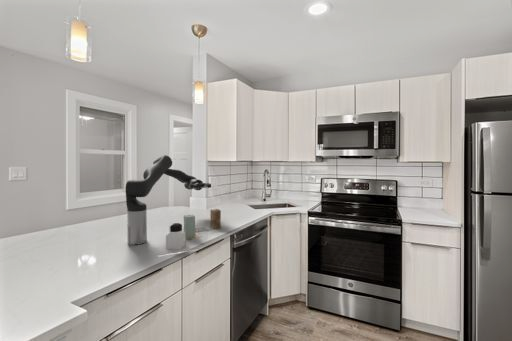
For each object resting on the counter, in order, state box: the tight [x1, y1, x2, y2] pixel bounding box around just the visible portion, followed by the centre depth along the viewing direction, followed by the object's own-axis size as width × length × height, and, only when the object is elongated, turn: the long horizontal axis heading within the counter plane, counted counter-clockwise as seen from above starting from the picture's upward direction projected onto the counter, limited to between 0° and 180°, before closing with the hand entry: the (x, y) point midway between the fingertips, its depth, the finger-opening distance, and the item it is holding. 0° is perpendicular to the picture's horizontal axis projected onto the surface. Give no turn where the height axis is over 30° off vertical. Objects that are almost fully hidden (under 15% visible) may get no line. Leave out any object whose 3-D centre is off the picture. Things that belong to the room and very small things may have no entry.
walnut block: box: [210, 208, 222, 230], centre depth 163 cm, size 5×5×12 cm
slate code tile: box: [195, 226, 210, 234], centre depth 158 cm, size 10×10×1 cm
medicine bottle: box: [165, 222, 186, 250], centre depth 128 cm, size 7×7×12 cm
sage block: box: [183, 214, 196, 239], centre depth 143 cm, size 5×5×12 cm
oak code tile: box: [185, 233, 201, 242], centre depth 143 cm, size 10×10×1 cm
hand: (203, 186), depth 171 cm, fingers open, 8 cm apart
